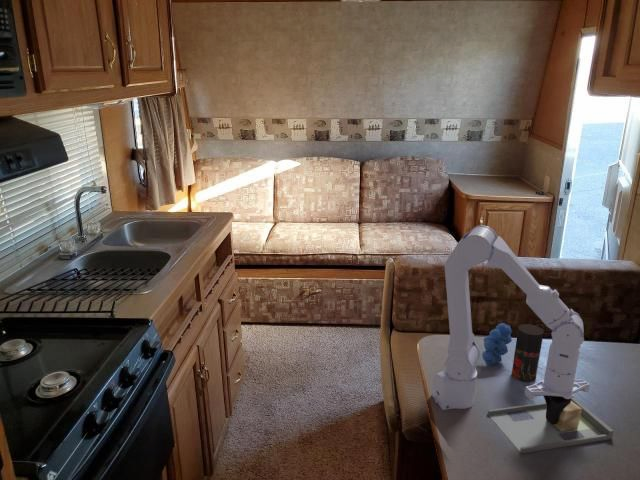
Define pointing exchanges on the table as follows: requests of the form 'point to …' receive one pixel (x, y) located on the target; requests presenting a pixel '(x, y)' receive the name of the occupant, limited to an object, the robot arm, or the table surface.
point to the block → (569, 417)
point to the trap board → (547, 428)
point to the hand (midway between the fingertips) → (551, 421)
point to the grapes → (496, 344)
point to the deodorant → (527, 352)
